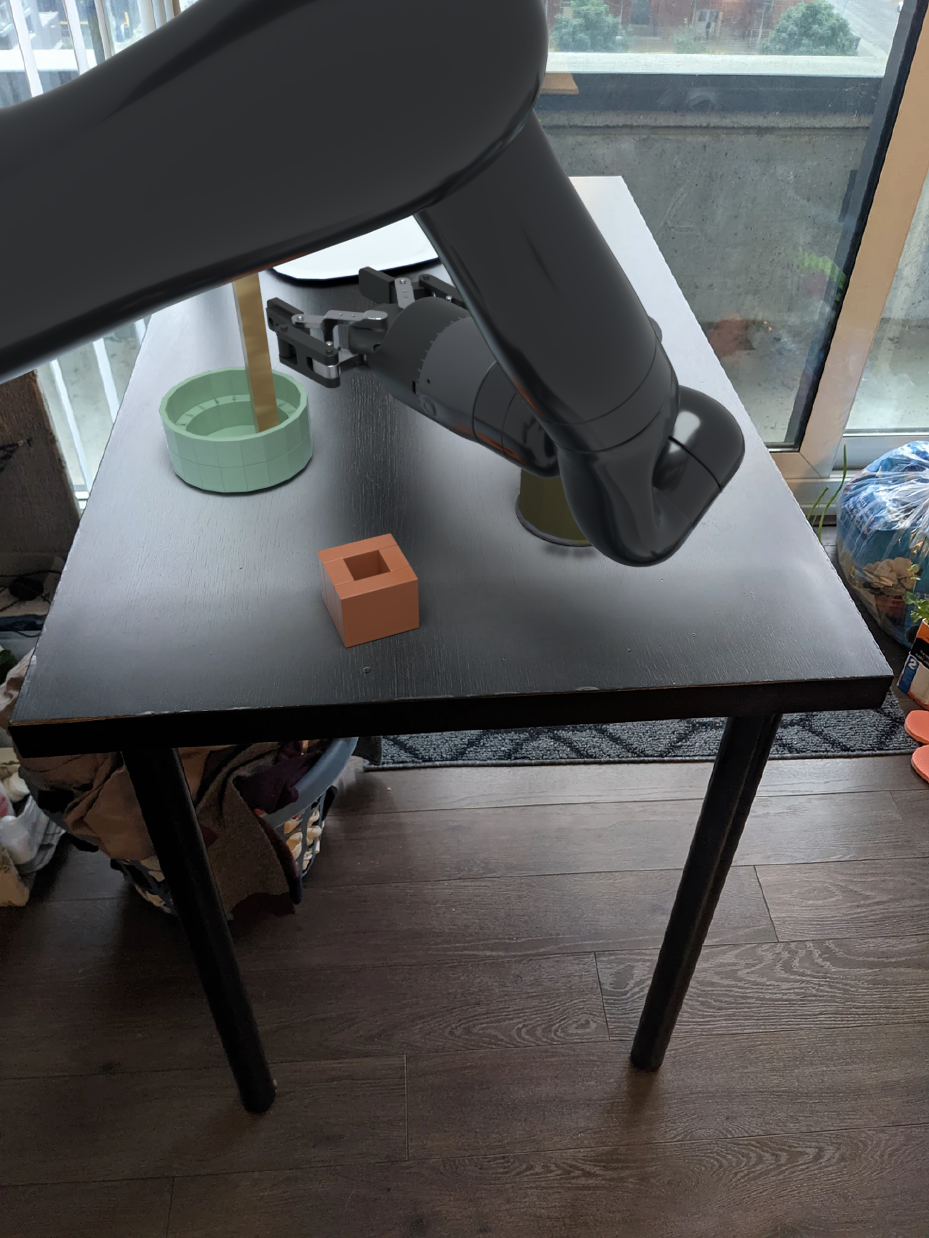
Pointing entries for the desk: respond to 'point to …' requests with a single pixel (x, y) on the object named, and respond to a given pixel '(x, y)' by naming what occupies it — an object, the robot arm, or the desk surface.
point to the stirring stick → (256, 352)
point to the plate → (365, 254)
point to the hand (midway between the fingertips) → (318, 295)
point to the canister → (551, 504)
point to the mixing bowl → (234, 432)
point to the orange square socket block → (369, 589)
